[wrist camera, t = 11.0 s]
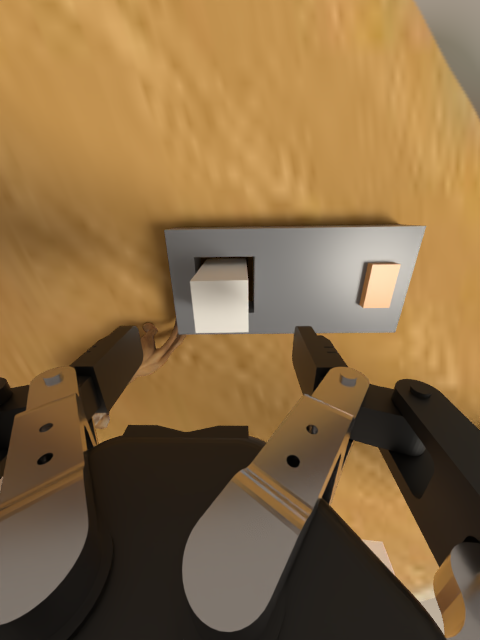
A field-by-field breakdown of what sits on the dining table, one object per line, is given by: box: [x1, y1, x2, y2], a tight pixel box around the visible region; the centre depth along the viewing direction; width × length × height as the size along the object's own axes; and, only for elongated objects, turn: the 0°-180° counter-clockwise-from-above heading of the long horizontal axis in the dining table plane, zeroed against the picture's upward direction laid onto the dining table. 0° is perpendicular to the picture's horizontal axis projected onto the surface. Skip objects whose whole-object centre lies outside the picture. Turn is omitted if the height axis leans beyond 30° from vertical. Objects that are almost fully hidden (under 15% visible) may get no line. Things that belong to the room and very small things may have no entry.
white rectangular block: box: [190, 258, 249, 333], centre depth 21 cm, size 4×4×9 cm
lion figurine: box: [92, 319, 187, 429], centre depth 25 cm, size 15×5×9 cm, turn 134°
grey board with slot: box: [164, 224, 426, 334], centre depth 23 cm, size 22×10×4 cm, turn 91°
